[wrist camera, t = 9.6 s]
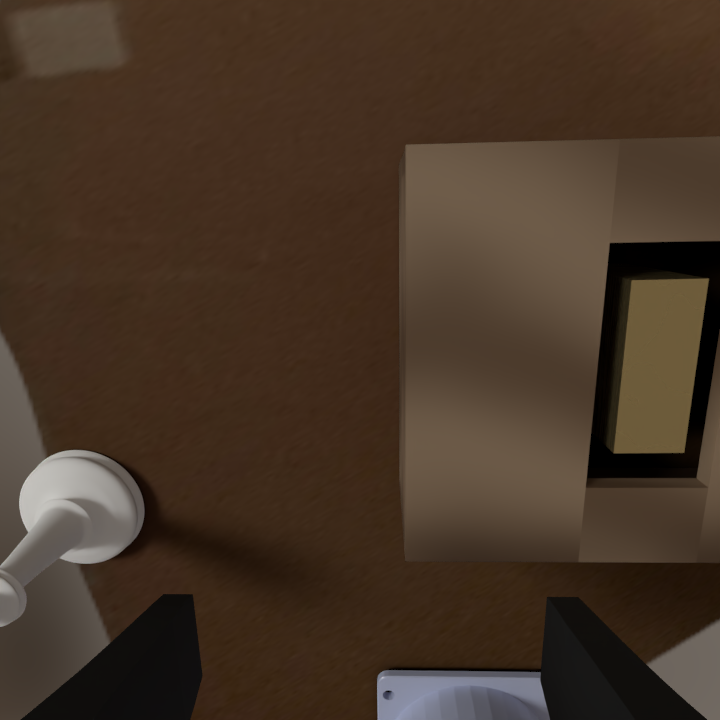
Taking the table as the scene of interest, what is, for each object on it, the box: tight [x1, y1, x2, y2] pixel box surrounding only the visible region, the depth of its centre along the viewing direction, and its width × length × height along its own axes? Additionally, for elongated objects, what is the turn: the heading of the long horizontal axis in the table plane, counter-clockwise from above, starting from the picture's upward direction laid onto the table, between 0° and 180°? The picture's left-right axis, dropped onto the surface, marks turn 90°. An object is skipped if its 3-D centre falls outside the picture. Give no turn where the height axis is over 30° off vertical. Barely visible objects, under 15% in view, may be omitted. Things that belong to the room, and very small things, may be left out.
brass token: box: [591, 263, 709, 453], centre depth 17 cm, size 5×2×5 cm, turn 2°
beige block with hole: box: [399, 136, 720, 563], centre depth 17 cm, size 12×14×5 cm
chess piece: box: [0, 450, 145, 627], centre depth 17 cm, size 5×5×10 cm
